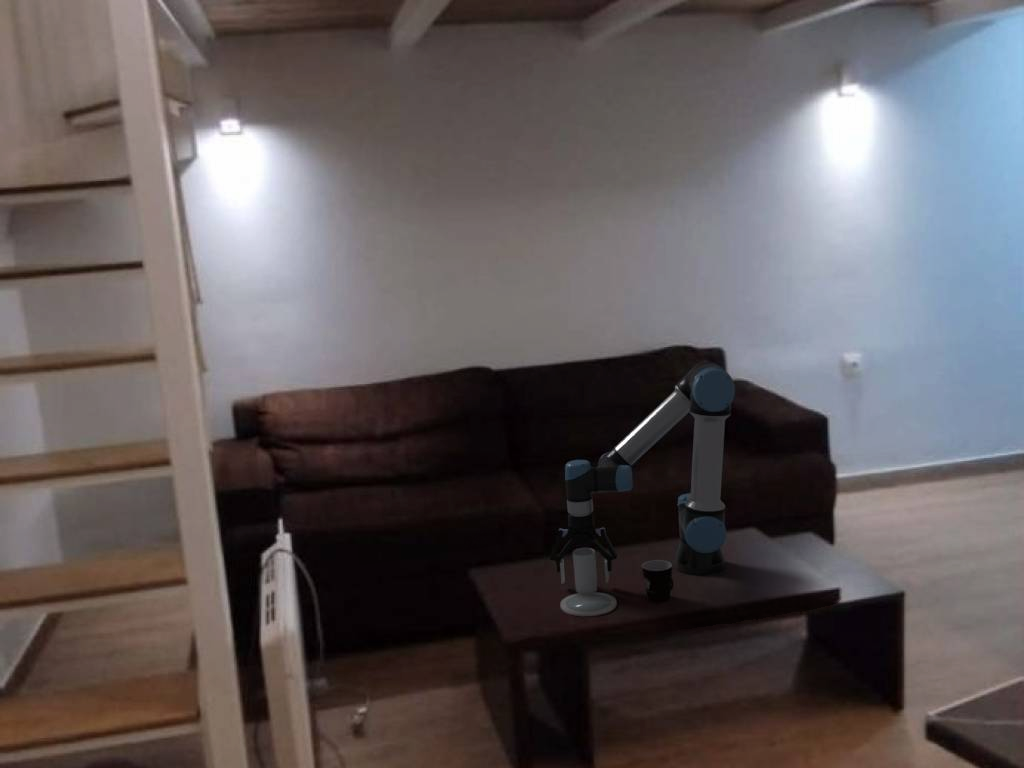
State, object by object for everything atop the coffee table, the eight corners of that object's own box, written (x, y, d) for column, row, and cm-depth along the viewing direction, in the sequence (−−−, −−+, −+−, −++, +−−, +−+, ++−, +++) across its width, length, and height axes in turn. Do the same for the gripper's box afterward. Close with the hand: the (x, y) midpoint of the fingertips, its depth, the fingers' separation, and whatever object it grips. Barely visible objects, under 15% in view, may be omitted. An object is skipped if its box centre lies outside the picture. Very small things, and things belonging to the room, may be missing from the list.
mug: (599, 593, 302) (597, 554, 300) (577, 595, 301) (574, 556, 299) (593, 581, 312) (591, 543, 310) (572, 583, 311) (569, 545, 309)
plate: (618, 594, 300) (618, 591, 300) (614, 616, 284) (614, 613, 284) (563, 594, 303) (563, 592, 302) (557, 616, 287) (557, 613, 287)
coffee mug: (642, 593, 299) (640, 561, 297) (671, 592, 299) (670, 559, 297) (646, 609, 287) (644, 575, 286) (677, 607, 287) (675, 573, 285)
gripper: (623, 507, 304) (627, 576, 308) (540, 509, 308) (545, 577, 312) (621, 515, 297) (626, 585, 300) (537, 517, 301) (542, 586, 305)
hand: (585, 581), depth 306 cm, fingers open, 12 cm apart
